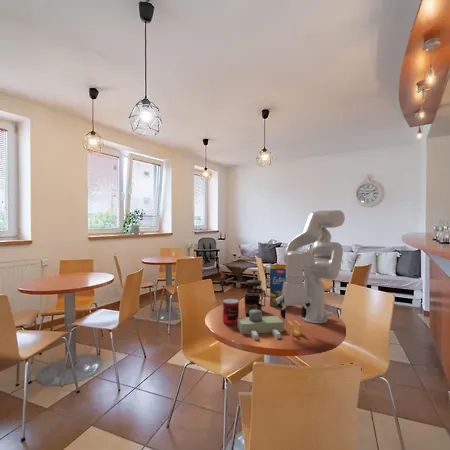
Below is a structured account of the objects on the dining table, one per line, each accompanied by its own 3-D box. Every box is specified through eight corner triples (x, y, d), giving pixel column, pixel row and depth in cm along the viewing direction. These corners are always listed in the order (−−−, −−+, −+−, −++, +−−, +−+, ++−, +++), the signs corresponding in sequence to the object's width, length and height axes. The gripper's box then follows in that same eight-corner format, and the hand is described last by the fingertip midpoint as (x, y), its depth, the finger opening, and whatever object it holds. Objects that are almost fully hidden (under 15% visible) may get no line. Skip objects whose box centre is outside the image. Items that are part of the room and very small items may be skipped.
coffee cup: (259, 322, 142) (259, 296, 142) (242, 320, 144) (243, 295, 144) (260, 316, 151) (260, 292, 151) (245, 315, 153) (245, 291, 153)
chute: (295, 330, 131) (295, 320, 131) (300, 335, 125) (300, 324, 125) (287, 331, 131) (287, 320, 131) (292, 336, 125) (292, 325, 125)
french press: (243, 312, 158) (243, 271, 158) (246, 307, 167) (246, 268, 167) (264, 314, 155) (264, 272, 155) (265, 309, 164) (266, 269, 164)
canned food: (229, 318, 147) (229, 297, 147) (241, 322, 142) (241, 300, 142) (219, 322, 141) (219, 300, 141) (232, 326, 136) (232, 303, 136)
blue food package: (270, 303, 176) (270, 263, 176) (289, 304, 174) (289, 264, 174) (269, 306, 170) (270, 265, 170) (290, 307, 168) (290, 265, 168)
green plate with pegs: (277, 324, 139) (277, 307, 139) (289, 337, 123) (289, 318, 123) (237, 326, 136) (237, 309, 136) (244, 340, 120) (244, 320, 120)
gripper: (308, 278, 133) (307, 314, 133) (273, 278, 130) (272, 315, 130) (315, 281, 125) (315, 319, 125) (278, 281, 123) (278, 320, 122)
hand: (293, 317), depth 128 cm, fingers open, 9 cm apart
